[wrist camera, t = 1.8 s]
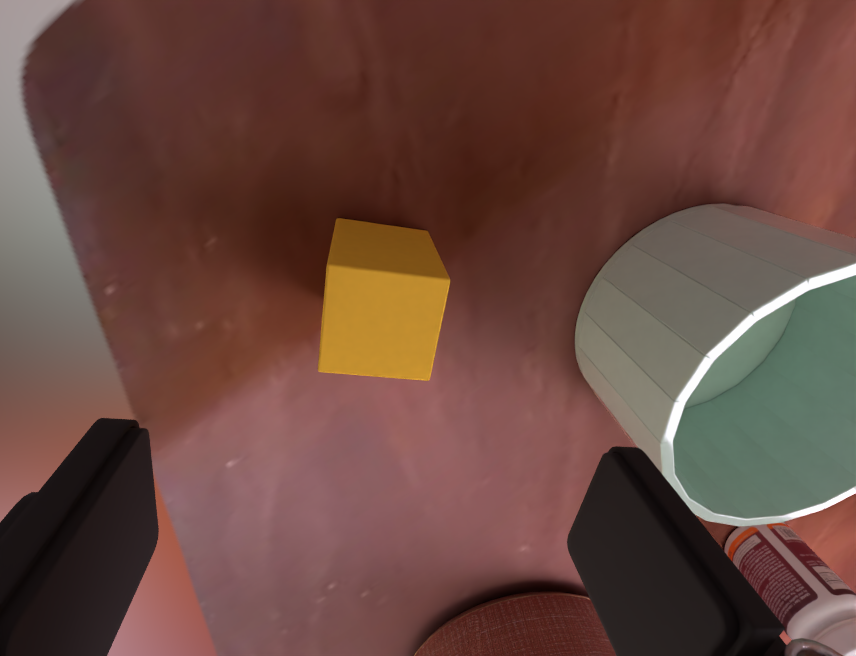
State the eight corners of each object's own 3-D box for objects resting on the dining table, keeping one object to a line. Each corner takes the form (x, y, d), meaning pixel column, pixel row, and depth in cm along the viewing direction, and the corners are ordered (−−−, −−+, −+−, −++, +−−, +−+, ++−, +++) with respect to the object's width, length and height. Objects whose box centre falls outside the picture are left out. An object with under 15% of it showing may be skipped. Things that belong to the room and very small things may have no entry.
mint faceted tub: (534, 301, 23) (611, 396, 16) (763, 148, 21) (972, 179, 14) (626, 444, 28) (716, 564, 21) (817, 334, 26) (987, 426, 19)
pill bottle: (724, 567, 35) (821, 694, 28) (719, 529, 33) (823, 656, 25) (785, 545, 35) (900, 668, 27) (784, 505, 33) (908, 627, 25)
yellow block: (328, 302, 21) (317, 372, 16) (336, 217, 20) (326, 264, 14) (413, 312, 22) (429, 381, 17) (428, 230, 20) (451, 279, 15)
